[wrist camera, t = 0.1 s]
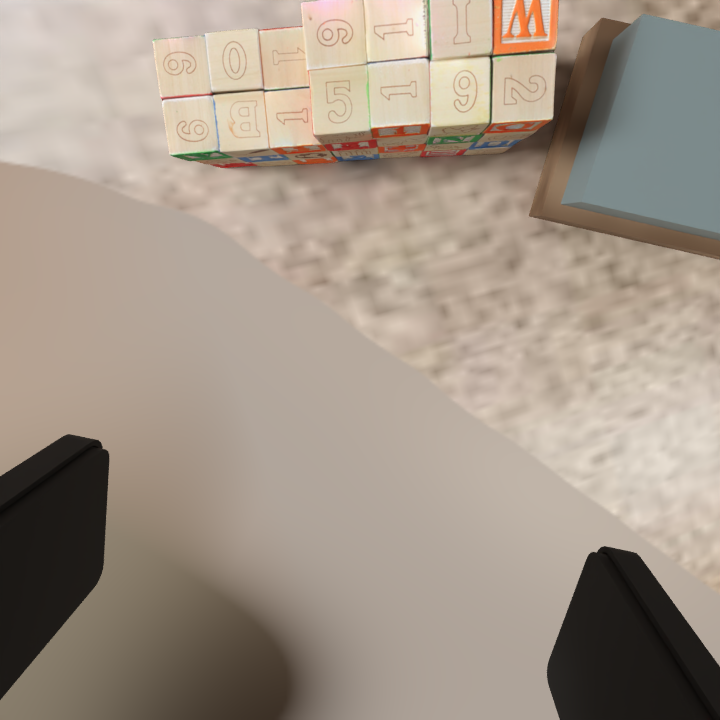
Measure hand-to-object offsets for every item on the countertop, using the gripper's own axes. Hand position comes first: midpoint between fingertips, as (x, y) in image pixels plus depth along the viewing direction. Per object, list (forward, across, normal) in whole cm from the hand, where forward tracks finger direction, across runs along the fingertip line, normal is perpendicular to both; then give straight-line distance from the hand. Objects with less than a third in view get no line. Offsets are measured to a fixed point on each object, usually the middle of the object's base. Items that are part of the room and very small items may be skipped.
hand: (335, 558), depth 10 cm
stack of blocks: (+32, +5, -13) cm, 35 cm away
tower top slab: (+28, -21, -14) cm, 38 cm away
